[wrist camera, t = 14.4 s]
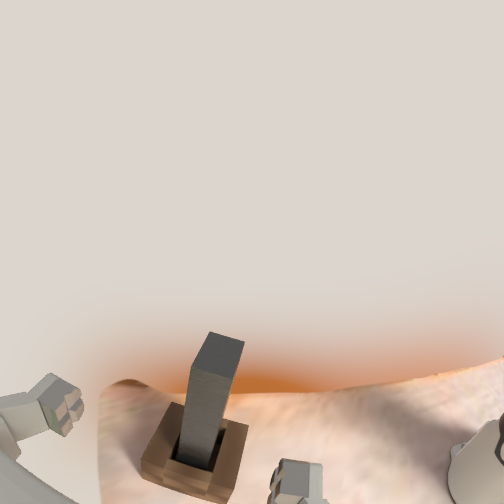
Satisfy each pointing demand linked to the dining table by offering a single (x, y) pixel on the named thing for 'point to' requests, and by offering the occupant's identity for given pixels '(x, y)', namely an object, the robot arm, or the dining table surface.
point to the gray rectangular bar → (207, 398)
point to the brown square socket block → (189, 478)
